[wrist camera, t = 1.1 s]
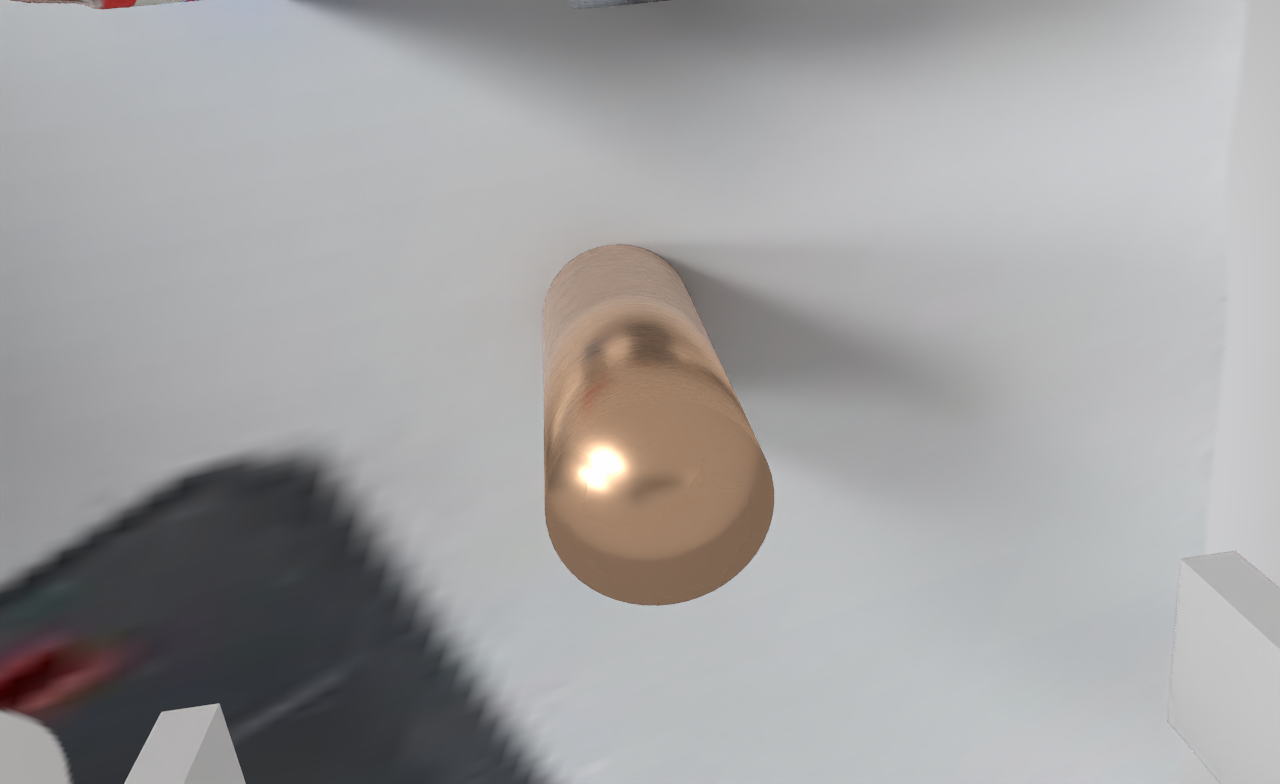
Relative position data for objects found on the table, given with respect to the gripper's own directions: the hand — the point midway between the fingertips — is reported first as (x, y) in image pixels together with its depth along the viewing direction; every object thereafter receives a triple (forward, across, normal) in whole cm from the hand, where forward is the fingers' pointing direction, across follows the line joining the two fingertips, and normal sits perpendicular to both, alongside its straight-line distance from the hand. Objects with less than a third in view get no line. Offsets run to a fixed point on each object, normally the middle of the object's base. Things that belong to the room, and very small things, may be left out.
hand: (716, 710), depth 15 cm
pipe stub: (+18, 0, 0) cm, 18 cm away
